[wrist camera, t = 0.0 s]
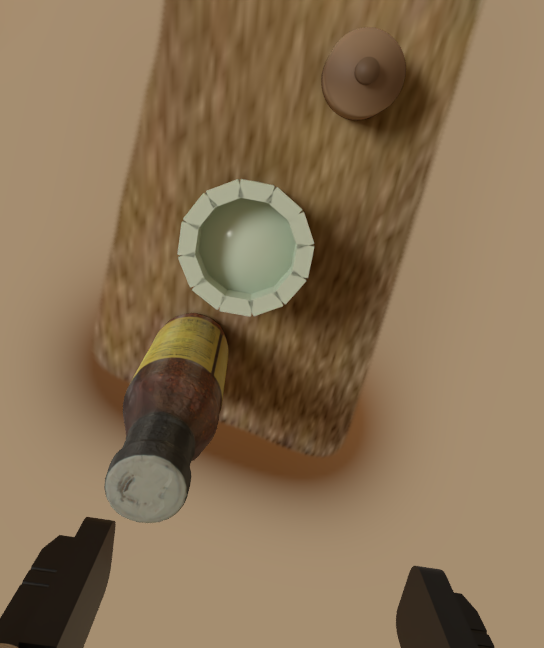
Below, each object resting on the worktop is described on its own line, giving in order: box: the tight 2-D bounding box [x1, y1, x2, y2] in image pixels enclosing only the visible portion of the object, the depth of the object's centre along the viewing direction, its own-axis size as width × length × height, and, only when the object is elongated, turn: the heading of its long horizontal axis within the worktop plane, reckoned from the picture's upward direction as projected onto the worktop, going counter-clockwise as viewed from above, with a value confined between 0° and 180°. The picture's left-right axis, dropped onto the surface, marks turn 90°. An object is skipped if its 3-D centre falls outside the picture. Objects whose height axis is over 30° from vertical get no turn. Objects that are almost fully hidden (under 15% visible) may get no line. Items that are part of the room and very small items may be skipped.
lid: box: [322, 27, 406, 120], centre depth 34 cm, size 6×6×4 cm
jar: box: [177, 179, 314, 317], centre depth 36 cm, size 9×9×7 cm
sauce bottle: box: [105, 313, 228, 523], centre depth 33 cm, size 7×6×20 cm
